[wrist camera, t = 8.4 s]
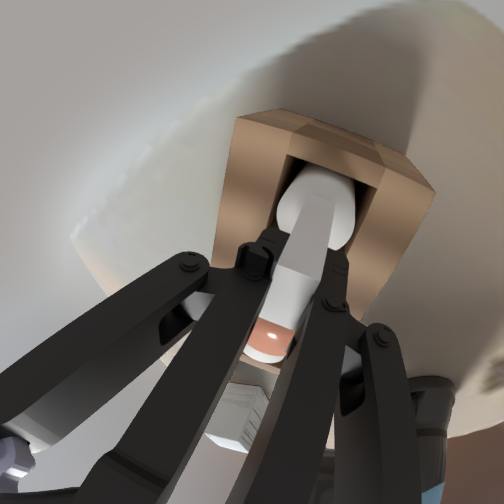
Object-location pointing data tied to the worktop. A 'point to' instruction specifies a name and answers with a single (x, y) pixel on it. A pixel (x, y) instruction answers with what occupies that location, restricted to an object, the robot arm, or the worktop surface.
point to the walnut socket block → (337, 159)
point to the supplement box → (237, 417)
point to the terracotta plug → (270, 338)
